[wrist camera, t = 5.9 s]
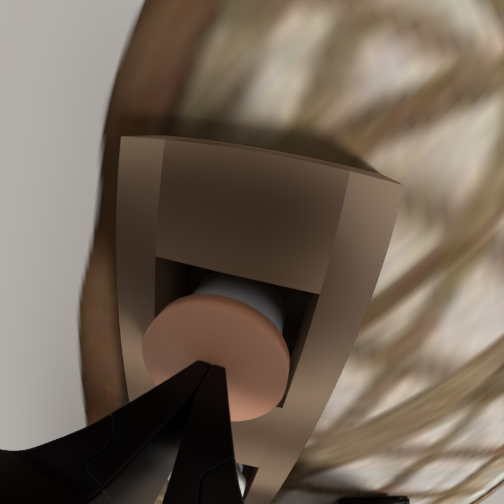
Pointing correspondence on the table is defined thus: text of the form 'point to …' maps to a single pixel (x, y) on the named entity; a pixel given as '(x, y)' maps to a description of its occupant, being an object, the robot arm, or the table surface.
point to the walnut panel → (253, 264)
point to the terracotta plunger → (225, 340)
